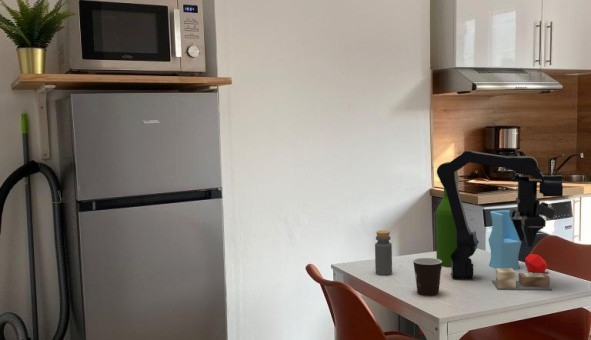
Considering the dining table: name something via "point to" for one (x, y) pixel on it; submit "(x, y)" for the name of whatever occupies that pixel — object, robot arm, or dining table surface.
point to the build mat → (521, 287)
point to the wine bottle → (445, 232)
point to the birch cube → (505, 278)
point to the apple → (535, 264)
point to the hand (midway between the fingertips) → (525, 243)
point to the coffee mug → (427, 275)
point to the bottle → (383, 254)
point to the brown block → (534, 279)
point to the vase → (503, 241)
